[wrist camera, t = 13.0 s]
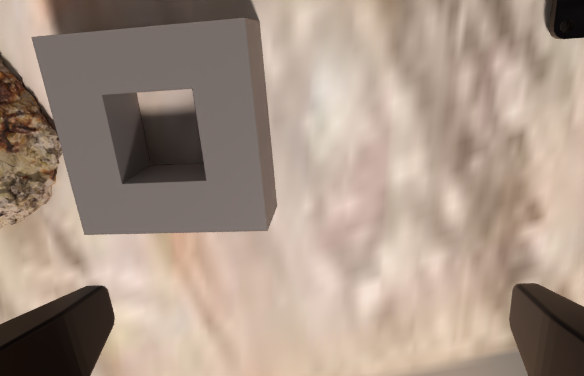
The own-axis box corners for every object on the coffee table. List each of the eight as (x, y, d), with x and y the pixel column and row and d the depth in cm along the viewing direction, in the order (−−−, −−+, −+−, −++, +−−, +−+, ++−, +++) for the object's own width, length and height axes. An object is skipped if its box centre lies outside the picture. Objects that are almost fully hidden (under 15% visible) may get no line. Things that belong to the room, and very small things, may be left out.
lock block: (259, 21, 18) (244, 17, 16) (276, 205, 21) (267, 230, 19) (75, 37, 20) (31, 37, 17) (116, 210, 23) (84, 234, 20)
